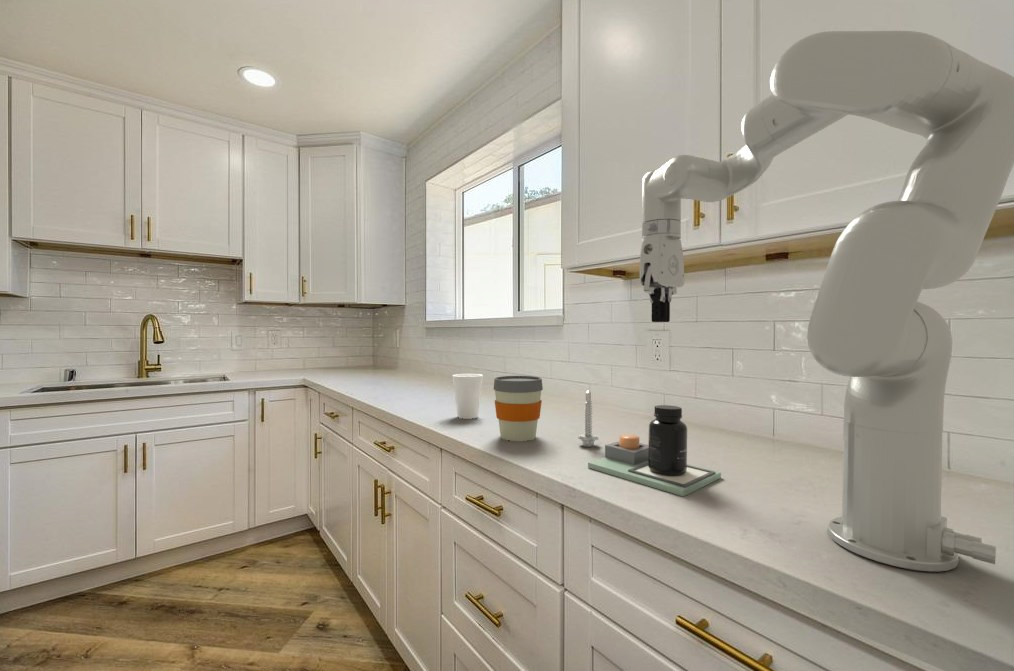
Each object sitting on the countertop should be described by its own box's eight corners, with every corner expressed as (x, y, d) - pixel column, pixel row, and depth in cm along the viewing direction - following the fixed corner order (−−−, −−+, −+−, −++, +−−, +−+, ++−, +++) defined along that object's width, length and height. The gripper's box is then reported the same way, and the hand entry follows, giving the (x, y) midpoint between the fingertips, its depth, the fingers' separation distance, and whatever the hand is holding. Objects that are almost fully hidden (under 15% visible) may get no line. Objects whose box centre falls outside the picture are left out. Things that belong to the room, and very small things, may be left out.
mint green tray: (720, 477, 83) (721, 459, 83) (683, 496, 74) (683, 475, 74) (628, 454, 98) (628, 438, 98) (587, 467, 89) (588, 450, 89)
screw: (579, 448, 103) (576, 442, 108) (600, 448, 103) (596, 442, 108) (579, 392, 103) (576, 389, 107) (600, 392, 103) (596, 389, 107)
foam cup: (471, 412, 146) (471, 373, 145) (489, 417, 138) (488, 375, 138) (447, 416, 140) (446, 375, 139) (463, 421, 132) (463, 377, 132)
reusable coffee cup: (486, 433, 117) (486, 376, 117) (529, 429, 122) (529, 374, 122) (504, 445, 105) (504, 382, 105) (551, 440, 110) (551, 379, 110)
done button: (643, 456, 92) (643, 437, 92) (632, 460, 89) (632, 440, 89) (626, 452, 95) (626, 433, 95) (615, 455, 92) (615, 436, 92)
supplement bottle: (690, 478, 79) (691, 411, 79) (650, 475, 81) (650, 409, 80) (683, 466, 86) (683, 404, 86) (646, 464, 87) (646, 403, 87)
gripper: (658, 224, 84) (657, 321, 84) (696, 234, 93) (695, 322, 94) (624, 230, 89) (623, 322, 90) (663, 239, 99) (663, 322, 99)
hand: (660, 321), depth 92 cm, fingers closed
